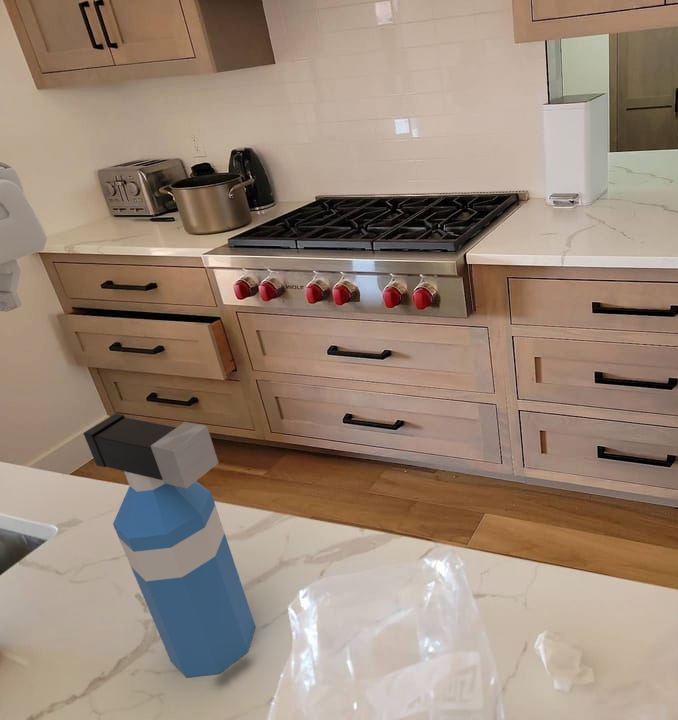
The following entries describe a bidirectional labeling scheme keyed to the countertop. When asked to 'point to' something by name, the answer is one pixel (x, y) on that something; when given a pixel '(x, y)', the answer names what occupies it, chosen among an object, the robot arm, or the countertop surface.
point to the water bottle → (185, 573)
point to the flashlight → (153, 449)
